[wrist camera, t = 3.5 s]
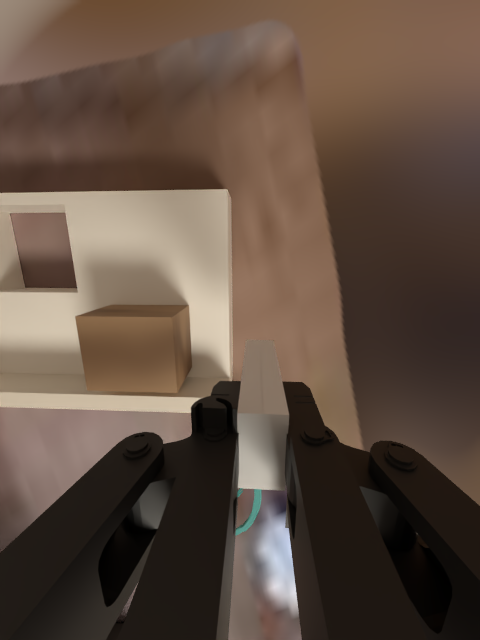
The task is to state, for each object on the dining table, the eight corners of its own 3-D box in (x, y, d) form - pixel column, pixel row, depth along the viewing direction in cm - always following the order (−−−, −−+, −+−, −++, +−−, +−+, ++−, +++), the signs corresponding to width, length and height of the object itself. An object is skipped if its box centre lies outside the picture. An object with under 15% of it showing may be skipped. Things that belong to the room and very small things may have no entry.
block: (192, 366, 20) (177, 393, 16) (119, 365, 20) (87, 390, 16) (189, 305, 19) (172, 317, 15) (111, 304, 19) (74, 316, 15)
